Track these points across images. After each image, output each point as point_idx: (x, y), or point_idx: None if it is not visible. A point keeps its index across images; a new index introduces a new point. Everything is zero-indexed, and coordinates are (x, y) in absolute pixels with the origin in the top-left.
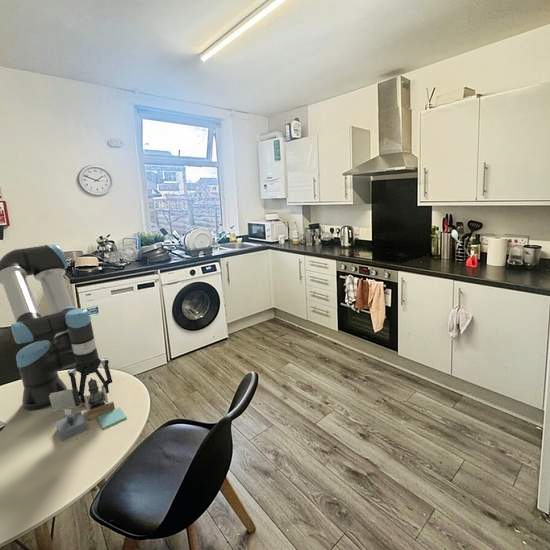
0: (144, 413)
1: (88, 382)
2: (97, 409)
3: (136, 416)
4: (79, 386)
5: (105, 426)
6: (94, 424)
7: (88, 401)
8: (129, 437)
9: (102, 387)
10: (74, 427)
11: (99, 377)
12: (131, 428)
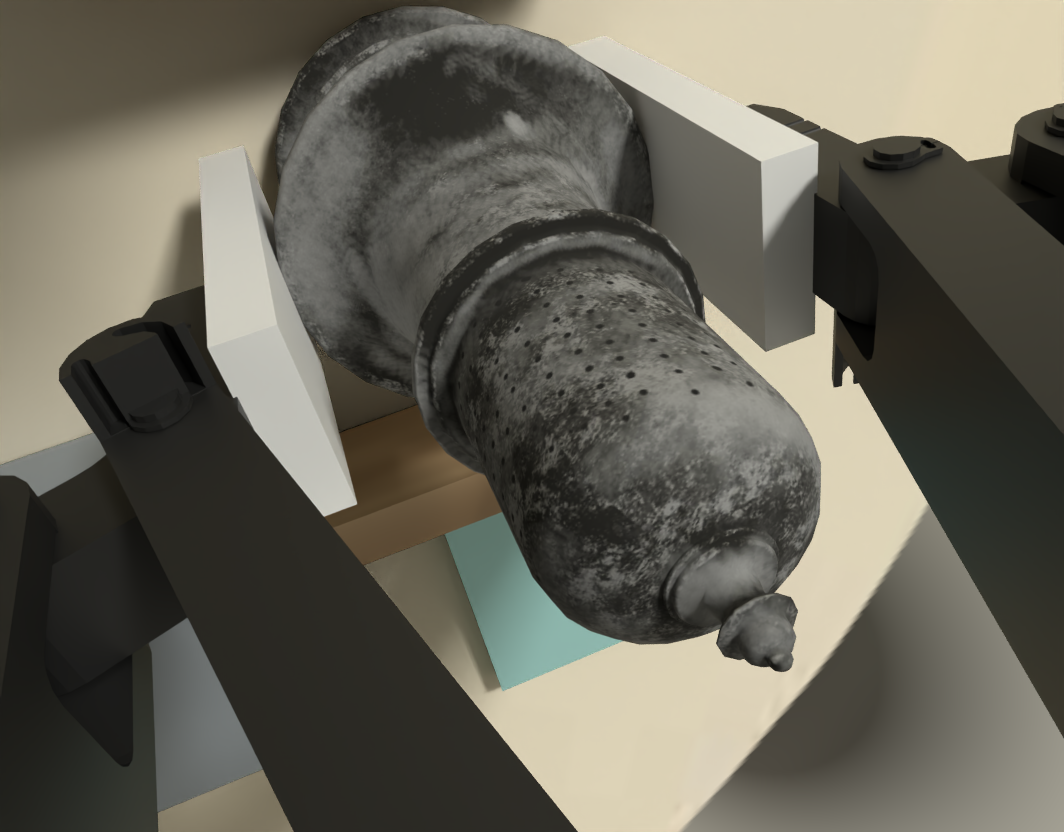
0: (895, 547)
1: (573, 593)
2: (482, 516)
3: (822, 569)
4: (163, 568)
5: (529, 677)
6: (394, 578)
7: (328, 343)
8: (689, 786)
9: (765, 301)
10: (180, 798)
11: (1016, 609)
12: (731, 704)
